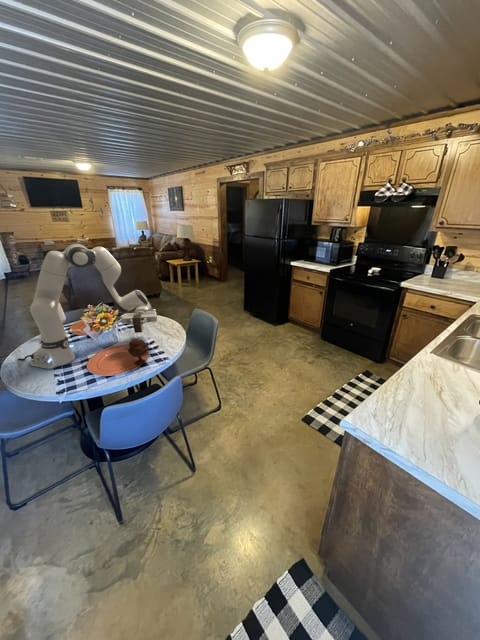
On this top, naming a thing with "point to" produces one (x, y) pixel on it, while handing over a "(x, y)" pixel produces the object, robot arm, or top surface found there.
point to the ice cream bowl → (138, 350)
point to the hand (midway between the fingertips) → (137, 323)
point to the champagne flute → (61, 315)
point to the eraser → (137, 323)
